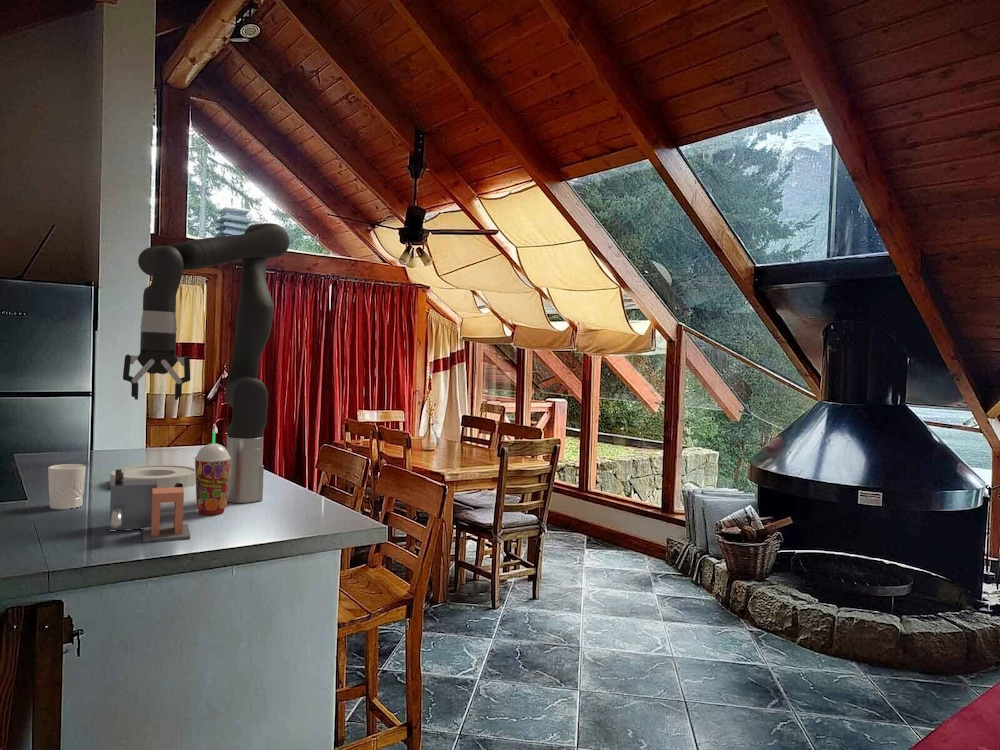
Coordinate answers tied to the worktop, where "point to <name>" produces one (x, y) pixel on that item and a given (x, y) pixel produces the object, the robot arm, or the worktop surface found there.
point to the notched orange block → (161, 497)
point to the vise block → (130, 502)
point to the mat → (166, 533)
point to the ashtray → (160, 475)
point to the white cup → (66, 485)
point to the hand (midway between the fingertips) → (156, 399)
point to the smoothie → (212, 478)
